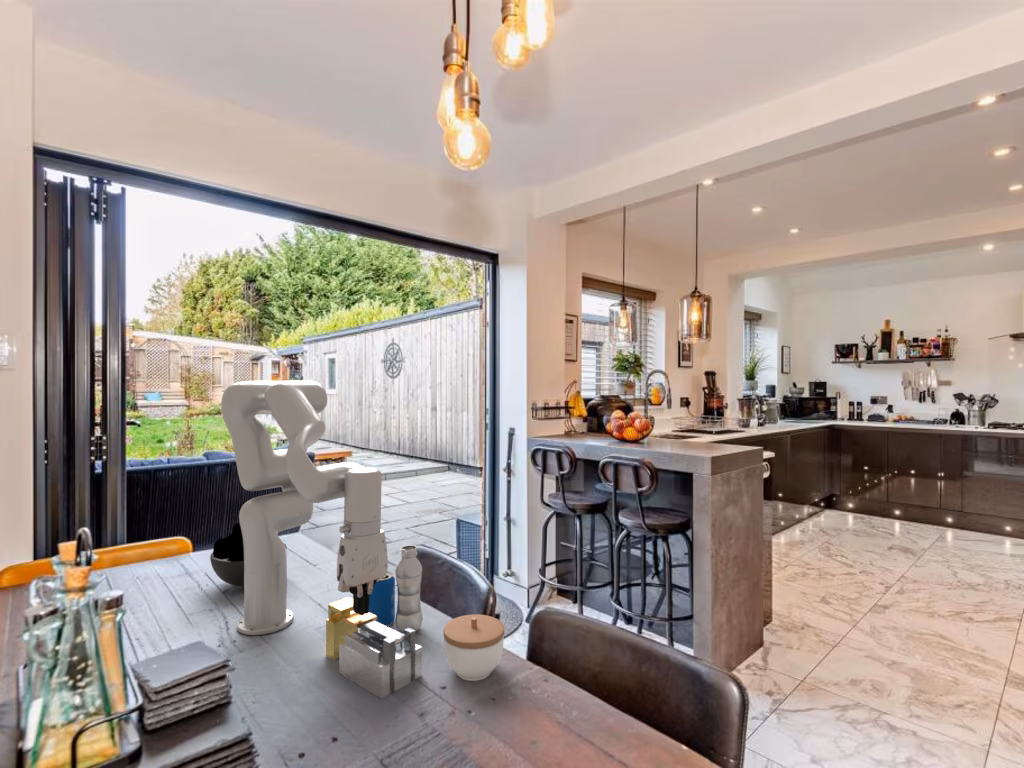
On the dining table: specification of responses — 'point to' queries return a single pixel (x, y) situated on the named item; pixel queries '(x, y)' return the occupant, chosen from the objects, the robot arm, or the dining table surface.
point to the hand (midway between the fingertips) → (361, 612)
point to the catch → (338, 625)
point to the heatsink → (380, 662)
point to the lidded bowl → (473, 645)
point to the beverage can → (383, 600)
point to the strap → (374, 627)
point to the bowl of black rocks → (230, 557)
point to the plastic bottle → (408, 590)
